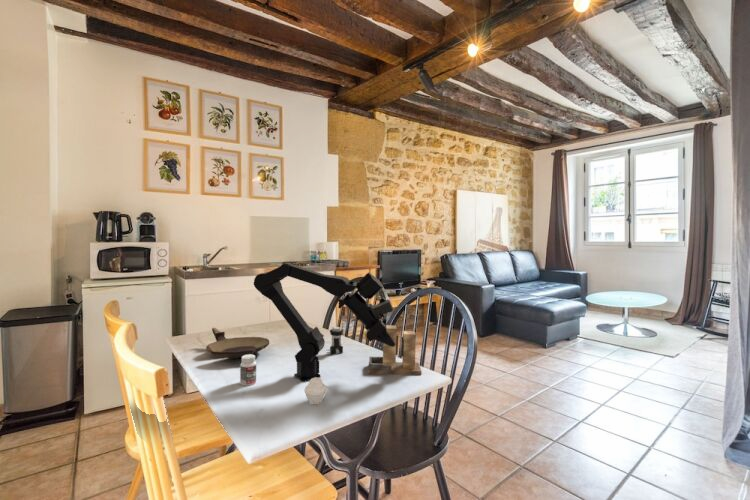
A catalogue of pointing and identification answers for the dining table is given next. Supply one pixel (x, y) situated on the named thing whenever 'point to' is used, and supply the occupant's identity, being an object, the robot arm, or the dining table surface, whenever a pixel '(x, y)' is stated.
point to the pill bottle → (248, 370)
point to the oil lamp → (235, 345)
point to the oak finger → (390, 347)
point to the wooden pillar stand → (400, 367)
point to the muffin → (315, 391)
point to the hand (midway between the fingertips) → (393, 343)
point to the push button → (336, 341)
